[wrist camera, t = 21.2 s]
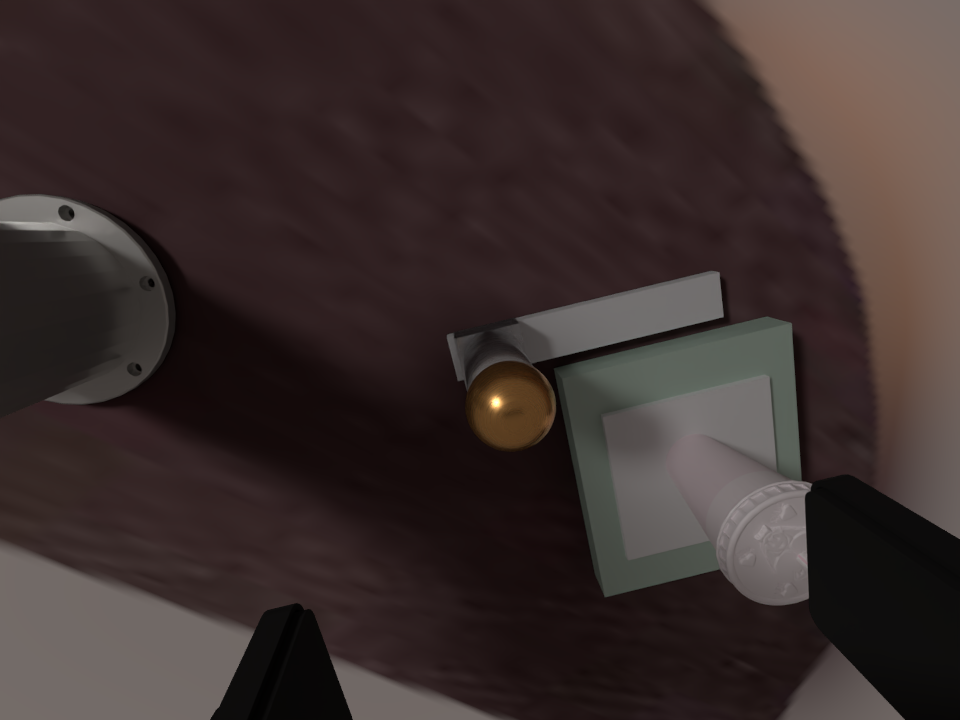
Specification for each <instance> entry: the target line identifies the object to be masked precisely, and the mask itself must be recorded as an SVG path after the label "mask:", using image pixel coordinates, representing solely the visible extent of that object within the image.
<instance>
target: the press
mask: <svg viewBox="0 0 960 720" xmlns="http://www.w3.org/2000/svg"><path fill="white" fill-rule="evenodd" d="M722 317H724V315H723V305H722V295H721V285H720V275H719V272H715V271H709V272H705V273H701V274H696V275H692V276H688V277H684V278H680V279H676V280H672V281H667V282H663V283H659V284H655V285H651V286H647V287H643V288H638V289H634V290H630V291H626V292H622V293H618V294H613V295H609V296H605V297H601V298H597V299H593V300H589V301H584V302H580V303H576V304H572V305H568V306H564V307H560V308H555V309H551V310H547V311H543V312H539V313H535V314H531V315H526V316H522V317H518V318H516V320H517V321H518V322H519V324H520V328H521V333H522V338H523V342H524V347H525V352H526V356H527V357H528V359H529V360H530V362H531V363H536V362H540V361H544V360H548V359H552V358H556V357H560V356H564V355H569V354H573V353H577V352H581V351H585V350H589V349H593V348H598V347H602V346H606V345H610V344H614V343H618V342H622V341H627V340H631V339H635V338H639V337H643V336H647V335H651V334H656V333H660V332H664V331H668V330H672V329H676V328H680V327H684V326H689V325H693V324H697V323H701V322H705V321H709V320H713V319H718V318H722ZM447 340H448V344H449V348H450V352H451V356H452V360H453V364H454V367H455V371H456V375H457V379H458V381H461V380H464V377H463V373H462V369H461V365H460V361H459V357H458V353H457V349H456V345H455V341H454V333H452V334H448V335H447ZM554 372H555V377H556V382H557V387H558V392H559V397H560V402H561V407H562V412H563V417H564V422H565V427H566V432H567V437H568V442H569V447H570V452H571V457H572V462H573V467H574V472H575V477H576V482H577V487H578V492H579V497H580V502H581V507H582V512H583V517H584V522H585V527H586V532H587V537H588V542H589V547H590V552H591V557H592V562H593V567H594V572H595V576H596V578H597V580H598V582H599V585H600V587H601V589H602V592H603V594H604V596H605V597H608V596H612V595H616V594H620V593H624V592H629V591H633V590H637V589H641V588H645V587H649V586H653V585H657V584H661V583H665V582H669V581H674V580H678V579H682V578H686V577H690V576H694V575H698V574H702V573H706V572H710V571H714V570H719V569H720V567H719V564H718V561H717V557H716V550H715V548H714V547H713V545H712V544H711V542H710V540H709V538H708V537H707V535H706V533H705V532H704V530H703V529H702V527H701V525H700V524H699V522H698V520H697V519H696V517H695V516H694V514H693V512H692V511H691V509H690V508H689V506H688V504H687V503H686V501H685V499H684V498H683V496H682V495H681V493H680V491H679V490H678V488H677V486H676V485H675V483H674V482H673V480H672V478H671V477H670V475H669V474H668V471H667V469H666V457H667V454H668V452H669V450H670V448H671V447H672V445H673V444H674V443H675V442H676V441H678V440H679V439H681V438H682V437H684V436H687V435H691V434H703V435H706V436H708V437H710V438H712V439H714V440H716V441H718V442H720V443H722V444H724V445H726V446H728V447H730V448H731V449H733V450H735V451H737V452H739V453H741V454H743V455H745V456H747V457H749V458H751V459H753V460H755V461H756V462H758V463H760V464H762V465H764V466H766V467H768V468H770V469H772V470H774V471H776V472H778V473H780V474H782V475H784V476H786V477H788V478H790V479H791V480H794V481H802V479H801V463H800V448H799V432H798V416H797V401H796V385H795V369H794V354H793V338H792V323H789V322H785V321H781V320H778V319H774V318H770V317H763V318H759V319H755V320H751V321H747V322H743V323H738V324H734V325H730V326H726V327H722V328H718V329H714V330H710V331H705V332H701V333H697V334H693V335H689V336H685V337H681V338H676V339H672V340H668V341H664V342H660V343H656V344H652V345H648V346H643V347H639V348H635V349H631V350H627V351H623V352H619V353H614V354H610V355H606V356H602V357H598V358H594V359H590V360H585V361H581V362H577V363H573V364H569V365H565V366H561V367H557V368H554Z"/></svg>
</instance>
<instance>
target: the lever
mask: <svg viewBox="0 0 960 720" xmlns="http://www.w3.org/2000/svg"><path fill="white" fill-rule="evenodd" d="M454 341H455V345H456V349H457V353H458V357H459V361H460V365H461V369H462V373H463V377H464V381H465V385H466V389H467V395H466V402H465V411H466V417H467V420H468V423H469V425H470V427H471V429H472V431H473V432H474V433H475V435H476V436H477V437H478V438H479V439H480V440H481V441H482V442H483V443H485V444H487V445H488V446H490V447H492V448H494V449H497V450H500V451H507V452H514V451H521V450H525V449H527V448H530V447H532V446H534V445H535V444H537V443H538V442H539V441H541V440H542V439H543V438H544V437H545V436H546V434H547V433H548V432H549V430H550V428H551V426H552V424H553V421H554V418H555V414H556V400H555V395H554V391H553V389H552V387H551V385H550V383H549V381H548V380H547V378H546V377H545V376H544V375H543V374H542V373H541V372H540V371H539V370H537V369H536V368H534V366H533V365H532V363H531V362H530V360H529V359H528V357H527V356H526V352H525V347H524V342H523V338H522V333H521V328H520V324H519V322H518V321H517V320H516V318H511V319H507V320H503V321H499V322H495V323H490V324H486V325H482V326H478V327H474V328H470V329H466V330H461V331H457V332H454Z"/></svg>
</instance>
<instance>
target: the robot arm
mask: <svg viewBox="0 0 960 720" xmlns="http://www.w3.org/2000/svg"><path fill="white" fill-rule="evenodd" d="M74 214H75V215H74ZM152 279H153V281H154V283H155V286H154V285H153V284H152ZM175 318H176V311H175V304H174V297H173V292H172V289H171V287H170V284H169V281H168V278H167V275H166V273H165V271H164V269H163V268H162V266H161V264H160V262H159V260H158V259H157V257H156V255H155V254H154V253H153V252H152V250H151V249H150V248H149V247H148V245H147V244H146V243H145V242H144V240H143V239H142V238H141V237H140V236H139V235H138V234H136V233H135V232H134V231H133V230H132V229H131V228H130V227H129V226H128V225H126V224H125V223H124V222H122V221H121V220H119V219H118V218H116V217H114V216H113V215H111V214H110V213H108V212H107V211H105V210H102V209H100V208H98V207H96V206H93V205H91V204H89V203H86V202H83V201H79V200H75V199H71V198H67V197H63V196H52V195H43V194H32V195H16V196H12V197H8V198H4V199H0V418H1V417H4V416H6V415H9V414H11V413H13V412H16V411H18V410H21V409H23V408H26V407H28V406H30V405H33V404H35V403H38V402H40V401H42V400H45V401H50V402H55V403H60V404H77V405H85V404H92V403H99V402H104V401H107V400H110V399H113V398H116V397H118V396H121V395H123V394H125V393H127V392H129V391H131V390H133V389H135V388H137V387H138V386H139V385H141V384H142V383H143V382H145V381H146V380H147V379H149V378H150V377H151V376H152V375H153V374H154V373H155V371H156V370H157V369H158V368H159V367H160V366H161V364H162V363H163V361H164V359H165V357H166V355H167V353H168V352H169V350H170V347H171V343H172V340H173V336H174V332H175ZM140 366H141V367H142V368H141V367H140ZM805 518H806V542H807V566H808V590H809V609H810V613H811V616H812V618H813V620H814V622H815V624H816V625H817V627H818V628H819V629H820V631H821V632H822V633H823V634H824V635H825V636H826V637H827V638H828V639H829V640H830V641H831V642H832V643H833V644H834V645H835V646H836V648H837V649H838V650H839V651H840V652H841V653H842V654H843V655H844V656H845V657H846V658H847V659H848V660H849V661H850V662H851V663H852V664H853V665H854V666H855V667H856V669H857V670H858V671H859V672H860V673H861V674H862V675H863V676H864V677H865V678H866V679H867V680H868V681H869V682H870V683H871V684H872V685H873V686H874V687H875V688H876V689H877V691H878V692H879V693H880V694H881V695H882V696H883V697H884V698H885V699H886V700H887V701H888V702H889V703H890V704H891V705H892V706H893V707H894V709H895V710H897V712H898V713H899V714H900V715H901V716H902V717H903V718H904V719H905V720H960V539H958V538H957V537H955V536H953V535H951V534H950V533H948V532H947V531H945V530H943V529H941V528H940V527H938V526H936V525H935V524H933V523H931V522H929V521H928V520H926V519H925V518H923V517H921V516H919V515H918V514H916V513H914V512H913V511H911V510H909V509H908V508H906V507H904V506H903V505H901V504H899V503H898V502H896V501H894V500H893V499H891V498H889V497H887V496H886V495H884V494H882V493H881V492H879V491H877V490H876V489H874V488H872V487H871V486H869V485H867V484H866V483H864V482H862V481H860V480H859V479H857V478H855V477H853V476H851V475H840V476H836V477H832V478H827V479H823V480H819V481H816V482H814V483H813V484H812V486H811V491H809V492H807V493H806V495H805ZM210 720H353V719H352V716H351V713H350V710H349V708H348V705H347V702H346V699H345V697H344V694H343V691H342V689H341V686H340V683H339V681H338V678H337V675H336V672H335V670H334V667H333V664H332V662H331V659H330V656H329V653H328V651H327V648H326V645H325V643H324V640H323V637H322V634H321V632H320V629H319V626H318V624H317V621H316V618H315V615H314V613H313V611H312V610H310V609H307V610H304V609H303V607H302V606H301V605H300V604H297V603H296V604H292V605H287V606H283V607H279V608H274V609H270V610H267V611H266V612H264V614H263V615H262V617H261V619H260V621H259V623H258V625H257V628H256V630H255V632H254V634H253V636H252V638H251V640H250V642H249V645H248V647H247V649H246V651H245V654H244V656H243V657H242V660H241V662H240V664H239V666H238V668H237V670H236V672H235V675H234V677H233V679H232V681H231V683H230V685H229V687H228V690H227V692H226V694H225V696H224V698H223V700H222V702H221V704H220V707H219V708H218V709H217V710H216V711H215V713H214V714H213V716H212V717H211V719H210Z"/></svg>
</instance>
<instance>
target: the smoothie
mask: <svg viewBox="0 0 960 720" xmlns="http://www.w3.org/2000/svg"><path fill="white" fill-rule="evenodd" d="M666 469H667V471H668V474H669V475H670V477H671V478H672V480H673V482H674V483H675V485H676V486H677V488H678V490H679V491H680V493H681V495H682V496H683V498H684V499H685V501H686V503H687V504H688V506H689V508H690V509H691V511H692V512H693V514H694V516H695V517H696V519H697V520H698V522H699V524H700V525H701V527H702V529H703V530H704V532H705V533H706V535H707V537H708V538H709V540H710V542H711V544H712V545H713V547H714V548H715V550H716V557H717V561H718V564H719V567H720V569H721V571H722V572H723V574H724V575H725V577H726V578H727V579H728V581H730V582H731V583H732V584H733V585H734V586H735V587H736V588H737V590H738V591H739V592H741V593H742V594H743V595H744V596H746V597H747V598H749V599H751V600H753V601H755V602H758V603H762V604H766V605H788V604H793V603H798V602H801V601H803V600H806V599H809V590H808V566H807V542H806V518H805V495H806V493H807V492H809V491H811V486H812V484H811V483H808V482H803V481H794V480H791V479H790V478H788V477H786V476H784V475H782V474H780V473H778V472H776V471H774V470H772V469H770V468H768V467H766V466H764V465H762V464H760V463H758V462H756V461H755V460H753V459H751V458H749V457H747V456H745V455H743V454H741V453H739V452H737V451H735V450H733V449H731V448H730V447H728V446H726V445H724V444H722V443H720V442H718V441H716V440H714V439H712V438H710V437H708V436H706V435H703V434H691V435H687V436H684V437H682V438H681V439H679V440H678V441H676V442H675V443H674V444H673V445H672V447H671V448H670V450H669V452H668V454H667V457H666Z"/></svg>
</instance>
